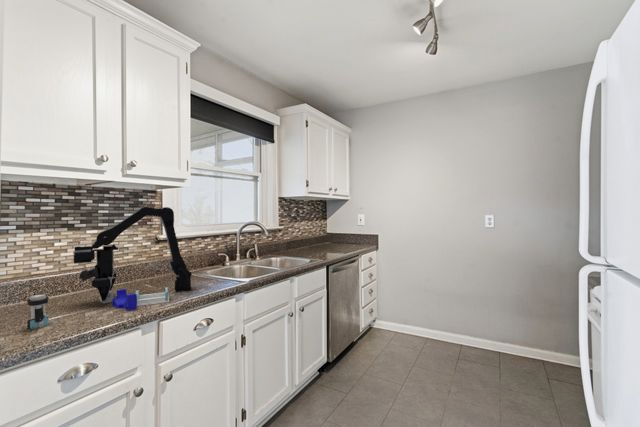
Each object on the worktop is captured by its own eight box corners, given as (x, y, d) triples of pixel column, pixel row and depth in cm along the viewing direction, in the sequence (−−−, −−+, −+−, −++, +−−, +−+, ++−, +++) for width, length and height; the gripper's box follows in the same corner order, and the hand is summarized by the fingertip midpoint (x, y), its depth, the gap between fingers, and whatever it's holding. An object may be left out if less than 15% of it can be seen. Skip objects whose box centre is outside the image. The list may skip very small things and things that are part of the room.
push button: (47, 321, 106) (47, 292, 106) (57, 323, 104) (57, 293, 104) (23, 328, 100) (23, 297, 100) (33, 330, 98) (32, 299, 98)
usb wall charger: (101, 303, 126) (101, 293, 126) (98, 300, 131) (98, 290, 130) (113, 301, 128) (113, 292, 128) (109, 298, 133) (109, 289, 133)
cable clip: (112, 306, 123) (112, 291, 123) (125, 303, 127) (124, 288, 127) (123, 312, 115) (123, 296, 115) (136, 309, 119) (136, 293, 119)
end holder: (169, 296, 136) (169, 286, 136) (169, 302, 127) (169, 292, 127) (135, 299, 131) (135, 290, 131) (132, 306, 122) (132, 296, 122)
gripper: (86, 259, 134) (87, 295, 134) (75, 266, 117) (75, 307, 117) (117, 257, 139) (117, 292, 139) (110, 264, 122) (110, 303, 122)
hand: (105, 298), depth 129 cm, fingers closed on usb wall charger, 7 cm apart
